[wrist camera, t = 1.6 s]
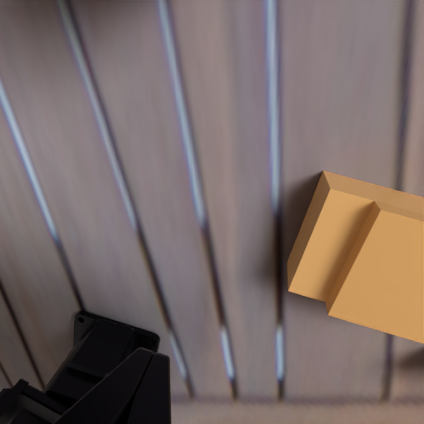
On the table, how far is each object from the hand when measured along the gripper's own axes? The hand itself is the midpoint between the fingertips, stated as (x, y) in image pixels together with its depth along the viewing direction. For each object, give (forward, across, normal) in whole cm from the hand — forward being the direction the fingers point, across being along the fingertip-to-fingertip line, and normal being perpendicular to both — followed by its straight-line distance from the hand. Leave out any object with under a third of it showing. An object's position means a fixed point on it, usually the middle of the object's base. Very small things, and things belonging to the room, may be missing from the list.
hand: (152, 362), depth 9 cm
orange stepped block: (+12, -8, 0) cm, 14 cm away
